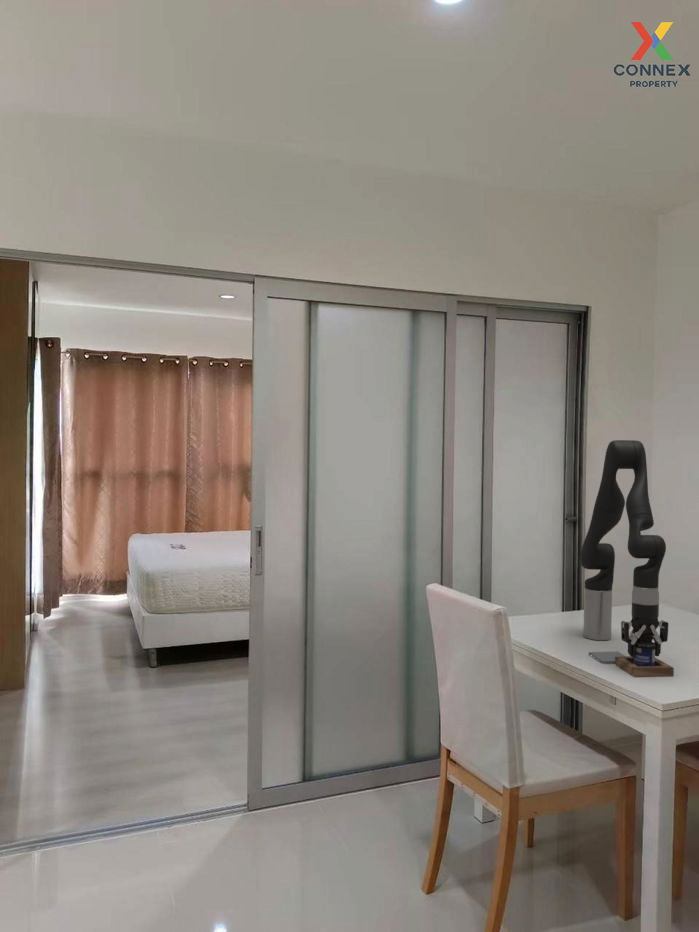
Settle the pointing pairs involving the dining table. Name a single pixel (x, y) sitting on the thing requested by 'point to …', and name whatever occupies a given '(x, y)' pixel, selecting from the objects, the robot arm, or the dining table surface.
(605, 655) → the grey pad
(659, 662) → the walnut holder
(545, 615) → the dining table surface
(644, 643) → the pill bottle
